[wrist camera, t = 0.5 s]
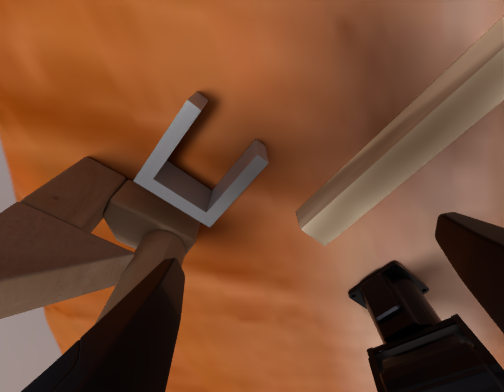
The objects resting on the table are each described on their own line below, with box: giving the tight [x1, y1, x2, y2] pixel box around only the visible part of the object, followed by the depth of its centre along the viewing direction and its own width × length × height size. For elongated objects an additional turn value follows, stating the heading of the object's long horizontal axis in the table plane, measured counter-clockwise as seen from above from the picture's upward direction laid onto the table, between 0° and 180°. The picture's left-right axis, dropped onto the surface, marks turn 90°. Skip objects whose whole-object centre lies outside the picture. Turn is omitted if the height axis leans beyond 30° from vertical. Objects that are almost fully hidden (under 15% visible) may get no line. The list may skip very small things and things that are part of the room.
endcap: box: [134, 92, 268, 228], centre depth 19 cm, size 6×7×4 cm
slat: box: [296, 16, 504, 246], centre depth 19 cm, size 3×22×3 cm, turn 141°
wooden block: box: [0, 157, 201, 324], centre depth 15 cm, size 4×11×18 cm, turn 55°
